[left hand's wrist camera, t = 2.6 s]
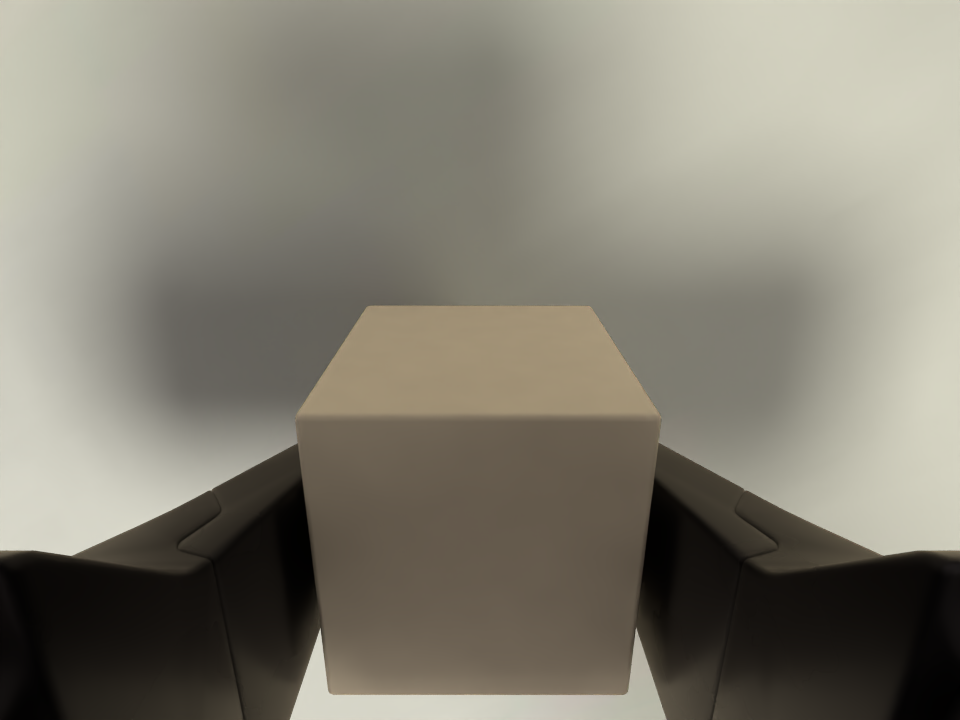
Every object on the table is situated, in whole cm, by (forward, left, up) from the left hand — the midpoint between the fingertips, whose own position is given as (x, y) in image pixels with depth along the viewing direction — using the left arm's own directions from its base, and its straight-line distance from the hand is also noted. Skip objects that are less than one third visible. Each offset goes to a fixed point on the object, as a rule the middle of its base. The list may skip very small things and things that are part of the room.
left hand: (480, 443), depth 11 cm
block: (0, 0, -1) cm, 1 cm away
